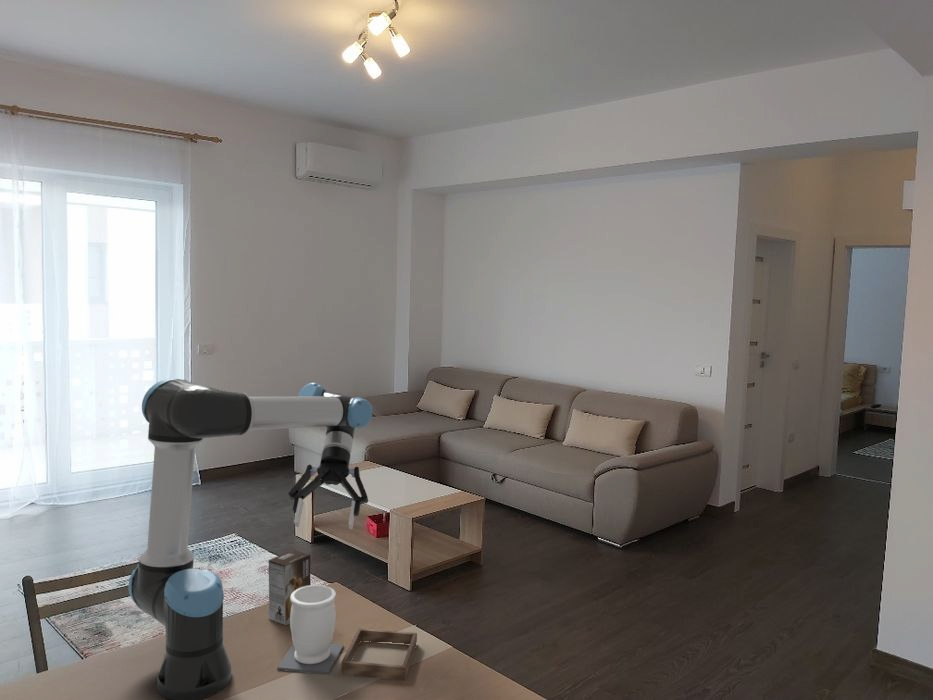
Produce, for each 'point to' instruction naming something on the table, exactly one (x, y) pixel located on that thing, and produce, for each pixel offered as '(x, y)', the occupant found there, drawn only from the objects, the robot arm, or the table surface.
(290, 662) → the pad
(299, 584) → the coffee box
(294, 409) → the robot arm
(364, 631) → the collar
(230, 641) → the table surface
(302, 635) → the jar
